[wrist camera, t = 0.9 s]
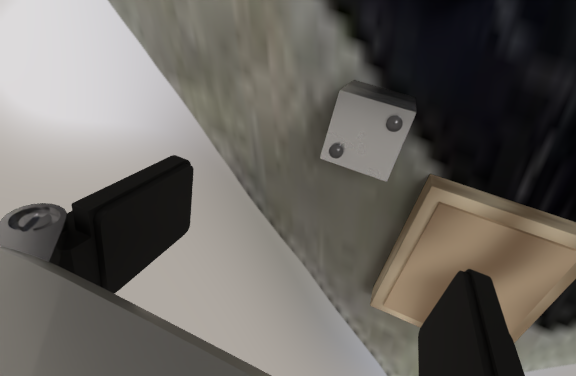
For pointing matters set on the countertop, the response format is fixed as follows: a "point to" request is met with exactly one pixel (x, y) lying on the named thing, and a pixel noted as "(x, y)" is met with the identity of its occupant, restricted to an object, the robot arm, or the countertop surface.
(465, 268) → the beech stand
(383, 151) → the block
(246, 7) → the countertop surface
